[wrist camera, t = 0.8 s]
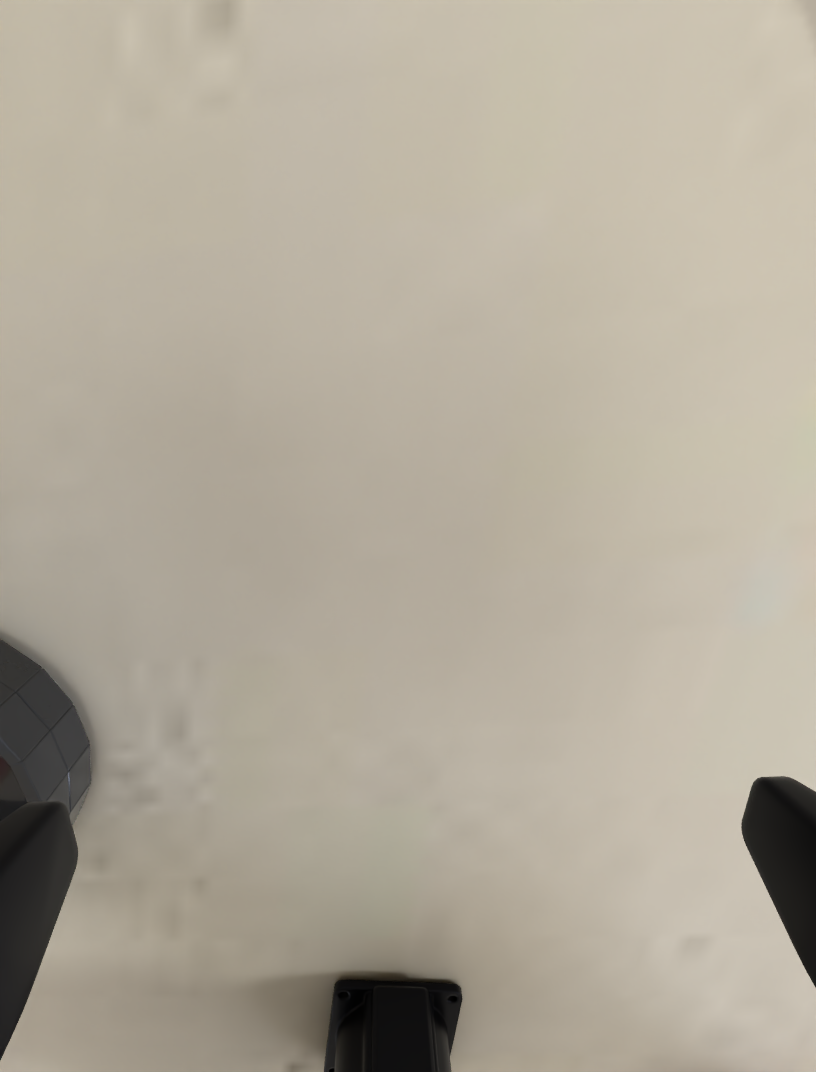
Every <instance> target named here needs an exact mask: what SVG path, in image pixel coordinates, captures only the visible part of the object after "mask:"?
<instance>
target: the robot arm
mask: <svg viewBox="0 0 816 1072" xmlns="http://www.w3.org/2000/svg"><path fill="white" fill-rule="evenodd" d="M742 835H743V838H744V841H745V844H746V846H747V848H748V850H749V853H750V855H751V857H752V859H753V861H754V863H755V865H756V867H757V869H758V872H759V874H760V876H761V878H762V880H763V882H764V884H765V886H766V888H767V891H768V893H769V895H770V897H771V899H772V901H773V903H774V905H775V907H776V910H777V912H778V914H779V916H780V918H781V920H782V922H783V924H784V926H785V929H786V931H787V933H788V935H789V937H790V939H791V941H792V943H793V946H794V948H795V949H796V951H797V953H798V955H799V957H800V959H801V961H802V963H803V965H804V967H805V969H806V971H807V973H808V975H809V976H810V978H811V980H812V982H813V984H814V986H815V987H816V792H815V791H813V790H812V789H810V788H808V787H806V786H805V785H803V784H801V783H800V782H798V781H796V780H794V779H792V778H789V777H784V776H781V777H760V778H758V779H756V780H755V781H754V782H753V785H752V787H751V791H750V794H749V798H748V801H747V805H746V808H745V812H744V815H743V819H742ZM77 859H78V848H77V843H76V839H75V835H74V831H73V828H72V824H71V820H70V816H69V812H68V809H67V807H66V805H65V804H64V803H63V802H60V801H41V802H30V803H27V804H25V805H23V806H21V807H20V808H18V809H17V810H15V811H14V812H13V813H11V814H10V815H8V816H7V817H6V818H4V819H3V820H1V821H0V1060H1V1058H2V1056H3V1054H4V1051H5V1049H6V1047H7V1045H8V1043H9V1041H10V1039H11V1036H12V1034H13V1032H14V1030H15V1027H16V1025H17V1023H18V1021H19V1018H20V1016H21V1014H22V1012H23V1009H24V1007H25V1004H26V1002H27V999H28V997H29V994H30V992H31V989H32V986H33V984H34V981H35V978H36V976H37V973H38V970H39V967H40V965H41V962H42V959H43V956H44V954H45V951H46V948H47V946H48V943H49V940H50V937H51V935H52V932H53V929H54V926H55V924H56V921H57V918H58V915H59V913H60V910H61V907H62V905H63V902H64V899H65V896H66V894H67V891H68V888H69V885H70V883H71V880H72V877H73V874H74V872H75V869H76V865H77ZM461 1003H462V993H461V988H460V986H458V985H457V984H447V983H420V982H392V981H365V980H341V981H338V982H337V983H336V984H335V986H334V992H333V1000H332V1008H331V1016H330V1024H329V1032H328V1040H327V1048H326V1056H325V1066H324V1072H451V1063H450V1054H451V1049H452V1045H453V1040H454V1035H455V1031H456V1026H457V1021H458V1017H459V1012H460V1007H461Z"/></svg>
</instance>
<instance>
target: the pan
mask: <svg viewBox="0 0 816 1072" xmlns="http://www.w3.org/2000/svg"><path fill="white" fill-rule="evenodd" d="M72 704H73V703H72V701H71V700H70V699H69V698H68V697H67V696H66V694H65V693H64V692H63V691H62V690H61V689H60V687H59V686H58V685H57V684H56V683H55V682H54V680H53V679H52V678H51V677H50V676H49V675H48V673H47V672H46V671H45V670H44V669H42V667H41V666H39V665H38V664H36V663H35V662H33V661H32V660H30V659H29V658H27V657H26V656H25V655H23V654H22V653H20V652H19V651H17V650H16V649H14V648H13V647H11V646H10V645H8V644H7V643H5V642H4V641H2V640H0V821H1V820H3V819H4V818H6V817H7V816H8V815H10V814H11V813H13V812H14V811H15V810H17V809H18V808H20V807H21V806H23V805H25V804H27V803H30V802H41V801H60V802H63V803H64V804H65V805H66V807H67V809H68V812H69V816H70V820H71V824H72V825H73V823H74V822H75V820H76V819H77V817H78V815H79V813H80V810H81V808H82V805H83V802H84V800H85V797H86V795H87V792H88V789H89V787H90V784H91V762H90V744H89V740H88V737H87V735H86V733H85V730H84V728H83V725H82V723H81V721H80V718H79V716H78V714H77V711H76V709H75V706H74V705H72Z"/></svg>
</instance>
